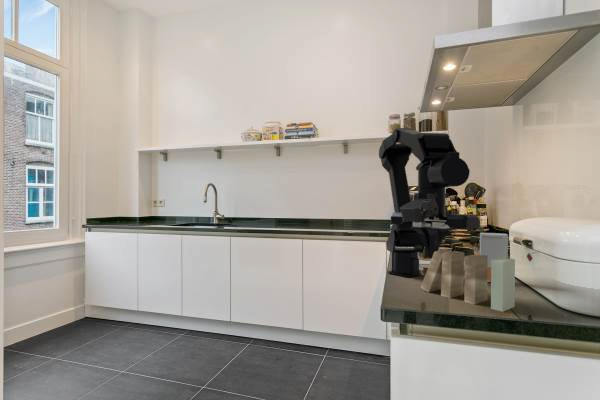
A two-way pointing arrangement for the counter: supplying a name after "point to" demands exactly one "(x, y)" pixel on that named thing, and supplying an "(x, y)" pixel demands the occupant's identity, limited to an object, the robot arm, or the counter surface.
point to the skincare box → (493, 248)
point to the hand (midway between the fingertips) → (431, 258)
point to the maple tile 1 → (434, 273)
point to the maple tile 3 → (476, 278)
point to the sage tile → (502, 284)
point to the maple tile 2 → (452, 274)
